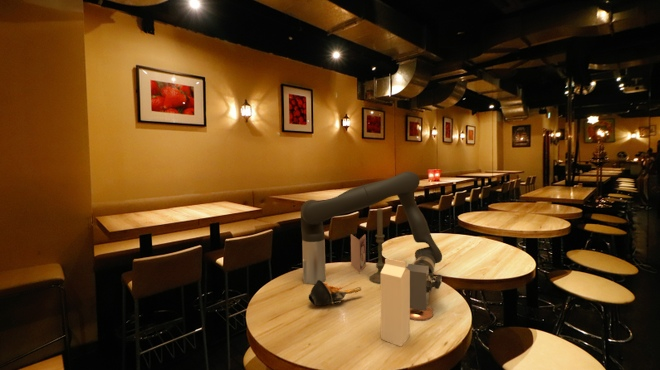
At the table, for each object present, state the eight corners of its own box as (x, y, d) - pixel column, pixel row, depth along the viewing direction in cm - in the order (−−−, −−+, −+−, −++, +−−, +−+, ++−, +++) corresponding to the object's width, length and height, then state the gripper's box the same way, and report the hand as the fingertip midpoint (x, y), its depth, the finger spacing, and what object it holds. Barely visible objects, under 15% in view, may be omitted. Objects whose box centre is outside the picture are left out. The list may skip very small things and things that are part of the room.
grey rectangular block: (405, 307, 94) (404, 270, 93) (408, 298, 100) (408, 263, 99) (426, 311, 92) (426, 273, 91) (428, 301, 98) (428, 266, 97)
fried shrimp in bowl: (301, 288, 105) (340, 263, 114) (315, 317, 104) (355, 289, 112) (309, 288, 97) (351, 261, 106) (325, 320, 96) (366, 289, 104)
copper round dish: (407, 321, 91) (407, 303, 90) (396, 306, 101) (396, 289, 100) (438, 319, 92) (439, 301, 91) (425, 303, 102) (425, 287, 101)
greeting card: (361, 273, 130) (361, 240, 129) (345, 272, 132) (344, 238, 131) (367, 265, 141) (367, 233, 139) (352, 263, 143) (352, 232, 142)
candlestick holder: (394, 277, 125) (394, 206, 122) (386, 285, 117) (386, 210, 115) (374, 273, 130) (373, 205, 127) (365, 281, 122) (364, 208, 120)
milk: (390, 329, 87) (389, 255, 85) (410, 336, 83) (410, 259, 82) (380, 339, 82) (379, 261, 80) (401, 347, 78) (401, 265, 77)
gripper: (402, 257, 111) (392, 273, 96) (444, 261, 105) (440, 279, 90) (403, 276, 112) (393, 295, 97) (444, 282, 106) (440, 303, 91)
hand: (416, 287), depth 93 cm, fingers closed on grey rectangular block, 6 cm apart
